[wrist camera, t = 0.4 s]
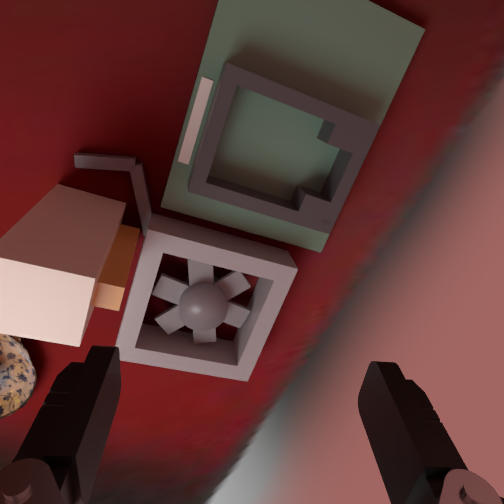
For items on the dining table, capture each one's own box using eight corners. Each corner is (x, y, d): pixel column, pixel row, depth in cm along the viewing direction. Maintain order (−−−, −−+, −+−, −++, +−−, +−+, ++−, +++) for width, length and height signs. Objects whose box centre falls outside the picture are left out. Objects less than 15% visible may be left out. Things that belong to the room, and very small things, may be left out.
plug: (57, 183, 29) (-17, 254, 18) (145, 208, 31) (125, 285, 20) (48, 236, 30) (-25, 329, 20) (132, 256, 32) (107, 351, 22)
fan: (79, 138, 28) (66, 148, 25) (305, 209, 33) (318, 225, 30) (45, 319, 33) (31, 345, 30) (242, 355, 39) (247, 381, 35)
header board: (235, -62, 24) (243, -81, 21) (417, 30, 28) (446, 26, 25) (161, 202, 31) (158, 218, 28) (317, 247, 35) (330, 265, 31)
